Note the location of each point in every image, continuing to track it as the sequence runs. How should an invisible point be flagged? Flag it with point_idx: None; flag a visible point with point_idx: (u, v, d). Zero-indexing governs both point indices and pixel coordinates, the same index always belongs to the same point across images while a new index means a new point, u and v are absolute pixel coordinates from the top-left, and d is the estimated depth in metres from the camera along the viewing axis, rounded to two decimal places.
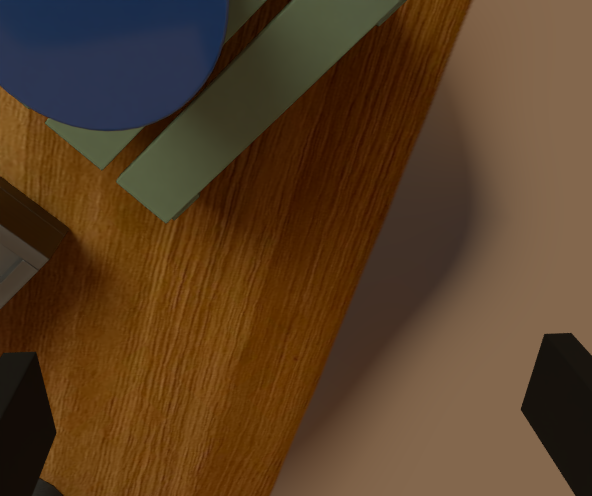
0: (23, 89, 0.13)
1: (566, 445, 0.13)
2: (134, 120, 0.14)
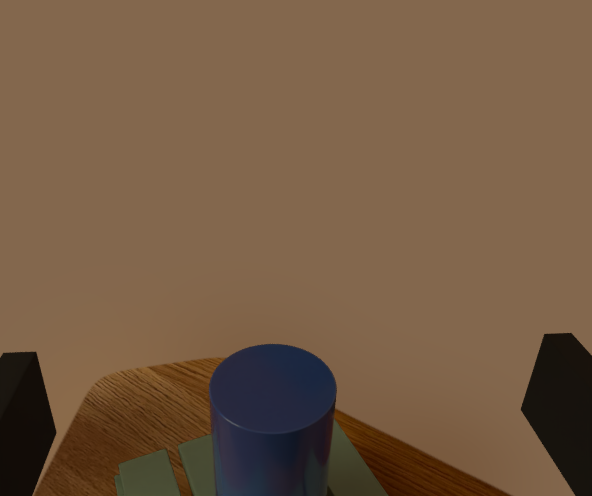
0: (301, 421, 0.24)
1: (566, 445, 0.13)
2: (332, 388, 0.26)
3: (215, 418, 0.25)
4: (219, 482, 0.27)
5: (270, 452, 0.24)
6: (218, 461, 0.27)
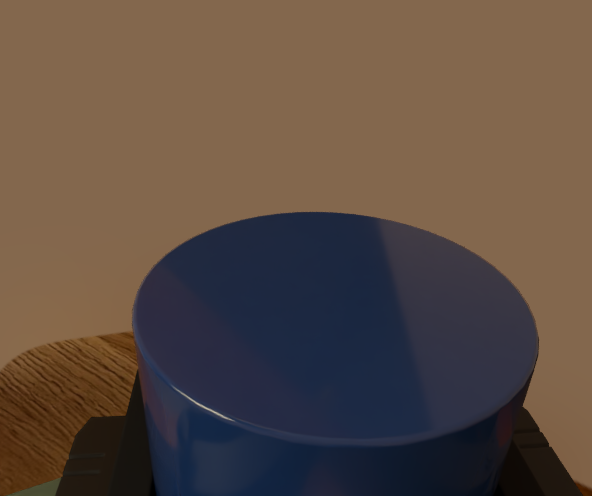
0: (459, 399, 0.07)
1: None
2: (516, 303, 0.09)
3: (147, 392, 0.07)
4: None
5: None
6: None
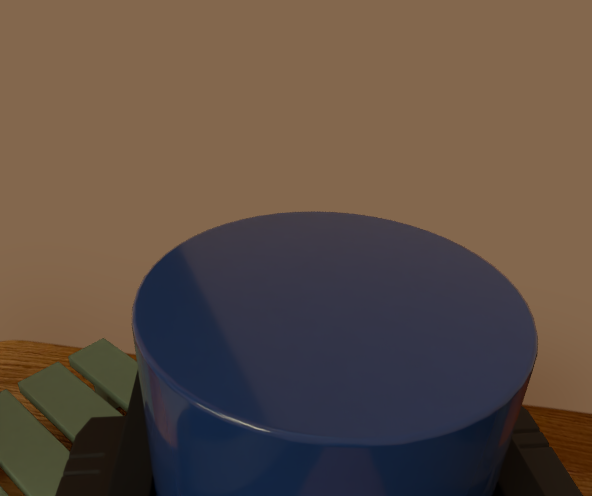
0: (458, 397, 0.07)
1: None
2: (515, 302, 0.09)
3: (147, 391, 0.07)
4: None
5: None
6: None
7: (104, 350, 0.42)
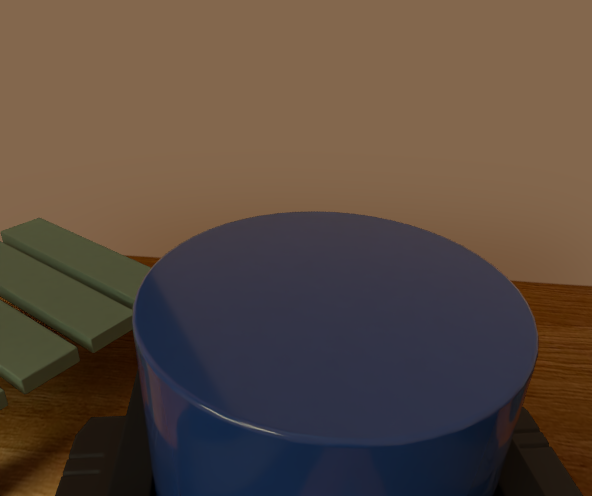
0: (459, 398, 0.07)
1: None
2: (516, 303, 0.09)
3: (147, 392, 0.07)
4: None
5: None
6: None
7: (40, 226, 0.40)
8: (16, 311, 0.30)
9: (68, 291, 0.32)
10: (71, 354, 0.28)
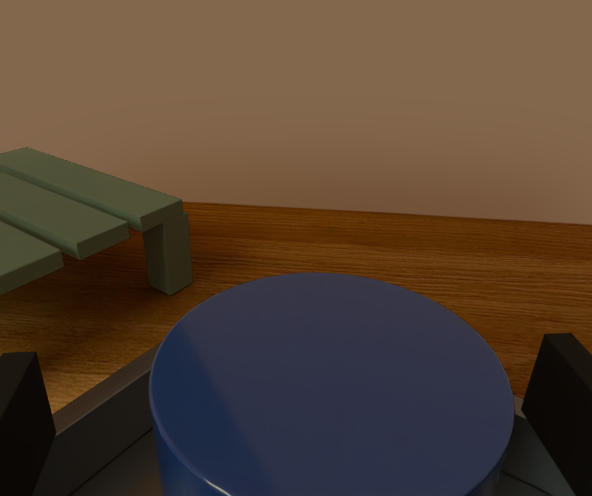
0: (441, 477, 0.07)
1: (566, 445, 0.13)
2: (496, 374, 0.09)
3: (163, 463, 0.08)
4: None
5: None
6: None
7: (27, 153, 0.38)
8: None
9: (53, 204, 0.30)
10: (54, 257, 0.25)
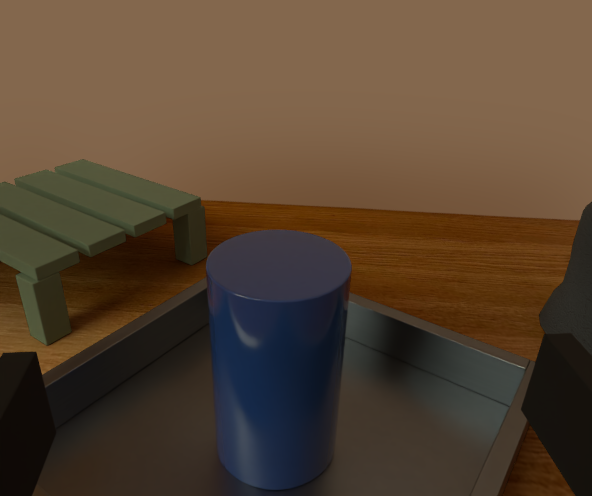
0: (313, 291, 0.21)
1: (566, 445, 0.13)
2: (346, 265, 0.23)
3: (213, 294, 0.22)
4: (218, 378, 0.24)
5: (276, 328, 0.21)
6: (217, 350, 0.23)
7: (84, 164, 0.51)
8: (77, 211, 0.42)
9: (113, 201, 0.44)
10: (120, 234, 0.39)
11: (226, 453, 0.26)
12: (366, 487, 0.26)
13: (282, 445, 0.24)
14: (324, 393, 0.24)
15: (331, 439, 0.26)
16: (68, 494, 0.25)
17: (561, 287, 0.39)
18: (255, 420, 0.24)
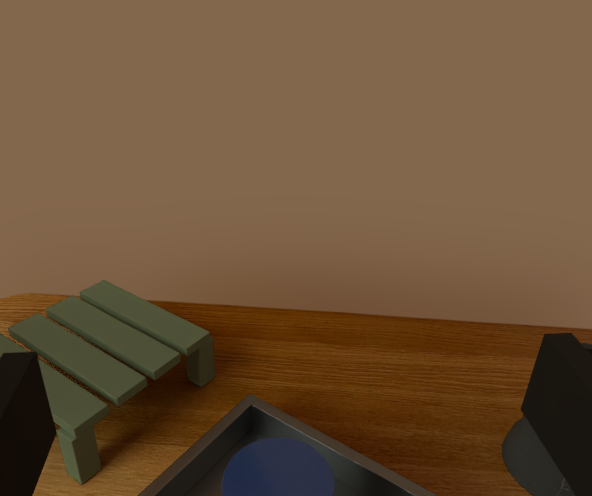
0: None
1: (566, 445, 0.13)
2: (331, 486, 0.30)
3: None
4: None
5: None
6: None
7: (106, 287, 0.58)
8: (104, 353, 0.48)
9: (134, 338, 0.50)
10: (143, 382, 0.45)
11: None
12: None
13: None
14: None
15: None
16: None
17: (520, 426, 0.46)
18: None
